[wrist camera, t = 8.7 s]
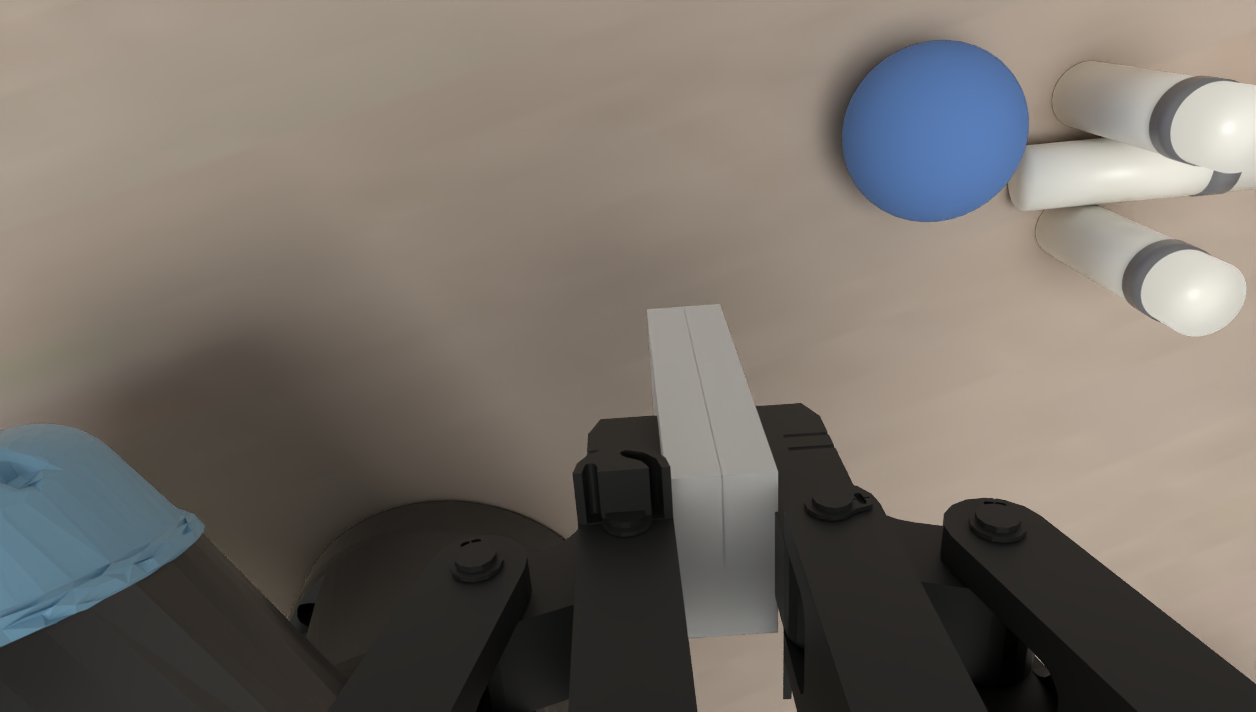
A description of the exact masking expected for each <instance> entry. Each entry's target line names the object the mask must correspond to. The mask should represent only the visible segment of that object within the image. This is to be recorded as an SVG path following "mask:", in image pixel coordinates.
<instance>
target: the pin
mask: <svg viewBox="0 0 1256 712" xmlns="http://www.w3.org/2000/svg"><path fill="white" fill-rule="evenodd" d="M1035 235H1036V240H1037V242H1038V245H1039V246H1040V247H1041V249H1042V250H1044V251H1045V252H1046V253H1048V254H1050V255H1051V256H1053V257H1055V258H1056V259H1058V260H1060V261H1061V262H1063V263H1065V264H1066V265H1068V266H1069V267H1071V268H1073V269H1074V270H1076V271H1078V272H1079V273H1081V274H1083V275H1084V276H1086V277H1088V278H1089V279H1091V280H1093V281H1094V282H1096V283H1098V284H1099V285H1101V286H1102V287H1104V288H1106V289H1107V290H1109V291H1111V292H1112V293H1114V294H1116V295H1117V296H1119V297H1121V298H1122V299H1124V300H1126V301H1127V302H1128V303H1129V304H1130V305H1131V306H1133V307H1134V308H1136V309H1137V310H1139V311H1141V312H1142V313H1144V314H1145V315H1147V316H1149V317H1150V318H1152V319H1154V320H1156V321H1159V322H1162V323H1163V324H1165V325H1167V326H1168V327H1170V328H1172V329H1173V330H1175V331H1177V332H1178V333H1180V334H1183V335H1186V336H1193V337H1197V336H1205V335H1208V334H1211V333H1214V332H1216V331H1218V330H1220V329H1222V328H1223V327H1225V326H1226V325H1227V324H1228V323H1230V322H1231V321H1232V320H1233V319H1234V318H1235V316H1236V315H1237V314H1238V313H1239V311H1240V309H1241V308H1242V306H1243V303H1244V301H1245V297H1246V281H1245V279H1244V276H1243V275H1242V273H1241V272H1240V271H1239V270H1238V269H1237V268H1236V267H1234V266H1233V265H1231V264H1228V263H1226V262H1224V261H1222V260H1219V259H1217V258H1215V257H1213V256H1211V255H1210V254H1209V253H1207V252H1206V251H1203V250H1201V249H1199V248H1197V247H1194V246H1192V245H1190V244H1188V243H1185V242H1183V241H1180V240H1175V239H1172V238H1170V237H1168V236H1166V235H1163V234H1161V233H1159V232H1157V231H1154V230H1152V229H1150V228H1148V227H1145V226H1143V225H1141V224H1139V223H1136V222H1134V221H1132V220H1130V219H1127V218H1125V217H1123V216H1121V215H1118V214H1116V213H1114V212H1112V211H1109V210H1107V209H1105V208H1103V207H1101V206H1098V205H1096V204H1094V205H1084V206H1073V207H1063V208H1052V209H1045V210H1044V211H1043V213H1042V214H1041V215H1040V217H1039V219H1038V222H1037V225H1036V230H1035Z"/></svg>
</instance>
